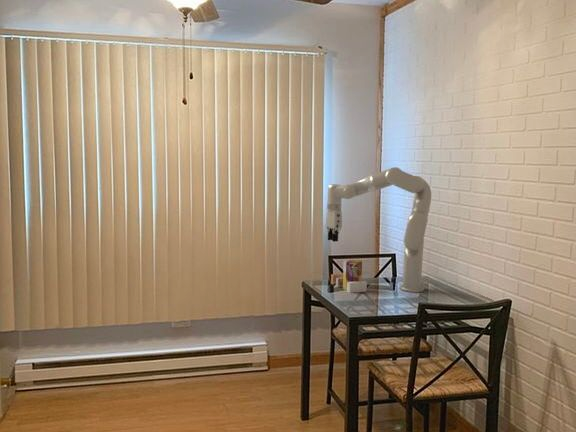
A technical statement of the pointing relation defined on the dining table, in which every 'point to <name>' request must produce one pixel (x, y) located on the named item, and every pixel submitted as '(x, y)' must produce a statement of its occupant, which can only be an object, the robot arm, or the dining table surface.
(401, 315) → the dining table surface
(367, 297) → the dining table surface
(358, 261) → the candy box
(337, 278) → the sliding jaw
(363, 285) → the vise base
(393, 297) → the dining table surface
